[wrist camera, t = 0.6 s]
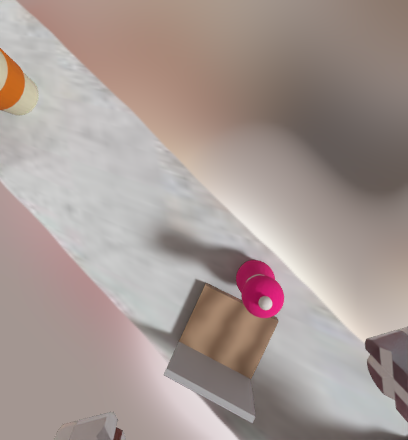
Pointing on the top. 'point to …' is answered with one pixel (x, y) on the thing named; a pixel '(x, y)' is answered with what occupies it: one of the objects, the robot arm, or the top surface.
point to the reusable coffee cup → (15, 88)
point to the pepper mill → (259, 289)
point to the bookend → (221, 351)
